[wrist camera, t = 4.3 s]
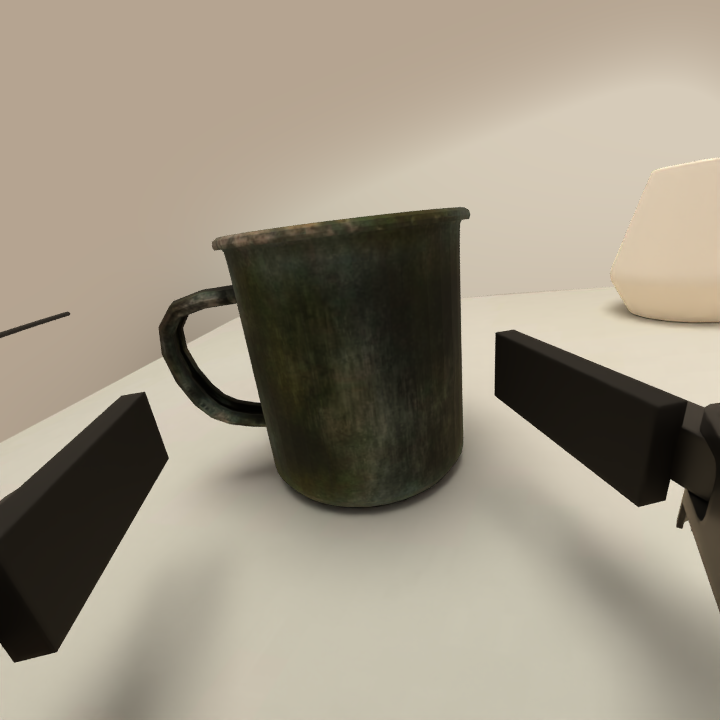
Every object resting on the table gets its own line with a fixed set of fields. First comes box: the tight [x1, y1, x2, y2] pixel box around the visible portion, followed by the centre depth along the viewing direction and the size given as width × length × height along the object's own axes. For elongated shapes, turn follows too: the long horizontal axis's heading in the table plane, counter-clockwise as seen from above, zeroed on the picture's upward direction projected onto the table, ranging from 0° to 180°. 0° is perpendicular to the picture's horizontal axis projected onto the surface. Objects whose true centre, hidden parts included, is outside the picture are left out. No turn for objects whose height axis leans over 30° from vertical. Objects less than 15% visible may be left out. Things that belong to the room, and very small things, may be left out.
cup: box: [610, 157, 720, 322], centre depth 34 cm, size 13×13×14 cm
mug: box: [159, 207, 470, 507], centre depth 18 cm, size 11×15×12 cm
